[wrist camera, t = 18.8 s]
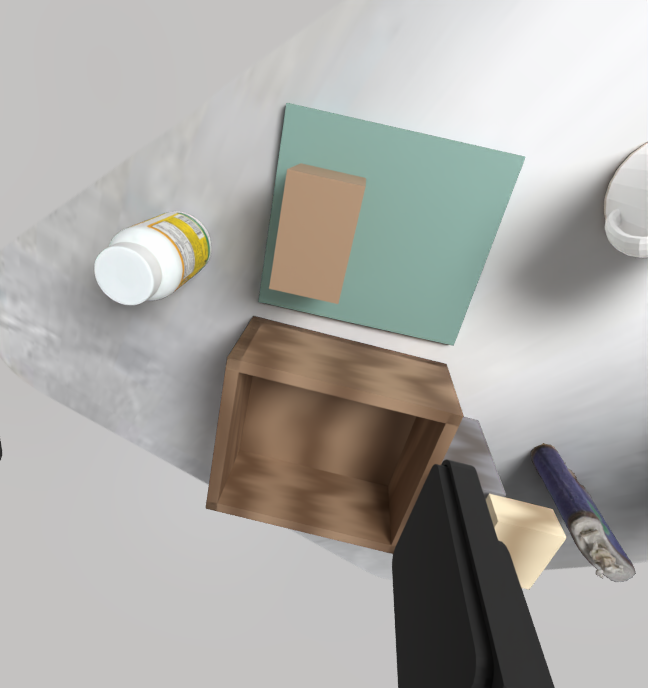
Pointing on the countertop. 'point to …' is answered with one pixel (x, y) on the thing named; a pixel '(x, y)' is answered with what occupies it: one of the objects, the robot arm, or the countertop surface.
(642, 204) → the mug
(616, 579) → the flask
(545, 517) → the pale gold block
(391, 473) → the wooden box
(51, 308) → the countertop surface
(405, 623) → the robot arm
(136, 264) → the supplement bottle
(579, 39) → the countertop surface
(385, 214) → the lid
